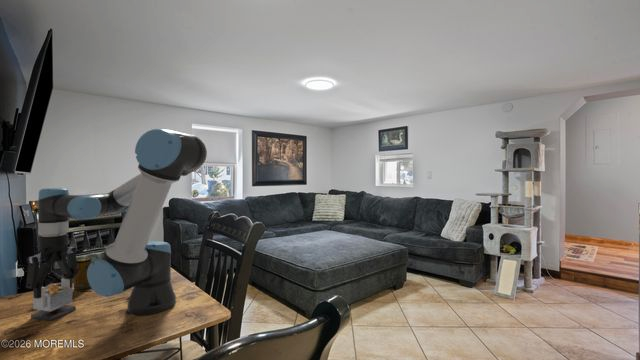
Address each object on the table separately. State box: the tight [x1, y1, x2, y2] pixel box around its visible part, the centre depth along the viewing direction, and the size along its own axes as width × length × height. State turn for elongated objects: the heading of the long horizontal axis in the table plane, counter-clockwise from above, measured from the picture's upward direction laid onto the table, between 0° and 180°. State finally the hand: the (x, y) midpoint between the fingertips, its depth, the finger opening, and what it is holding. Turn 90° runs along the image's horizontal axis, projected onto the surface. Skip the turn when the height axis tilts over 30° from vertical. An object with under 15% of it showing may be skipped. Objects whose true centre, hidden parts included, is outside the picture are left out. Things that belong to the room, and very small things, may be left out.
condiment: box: [72, 257, 94, 293], centre depth 121 cm, size 7×8×12 cm
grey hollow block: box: [32, 286, 73, 312], centre depth 100 cm, size 7×7×5 cm
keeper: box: [30, 283, 77, 322], centre depth 100 cm, size 8×8×10 cm
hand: (53, 301), depth 100 cm, fingers closed on grey hollow block, 7 cm apart
